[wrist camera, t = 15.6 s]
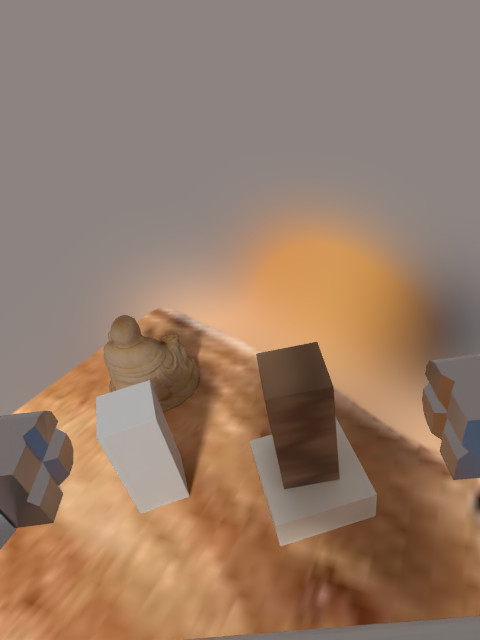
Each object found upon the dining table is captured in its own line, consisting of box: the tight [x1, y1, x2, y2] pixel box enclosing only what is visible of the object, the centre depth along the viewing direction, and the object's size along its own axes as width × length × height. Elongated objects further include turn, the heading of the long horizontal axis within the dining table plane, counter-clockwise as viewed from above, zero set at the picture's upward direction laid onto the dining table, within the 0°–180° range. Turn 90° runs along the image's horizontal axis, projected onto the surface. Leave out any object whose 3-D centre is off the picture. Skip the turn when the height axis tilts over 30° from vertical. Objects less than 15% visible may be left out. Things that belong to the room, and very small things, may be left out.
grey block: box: [96, 380, 189, 514], centre depth 41 cm, size 5×5×12 cm
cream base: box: [250, 417, 377, 546], centre depth 41 cm, size 9×9×4 cm
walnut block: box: [256, 342, 340, 489], centre depth 37 cm, size 5×5×12 cm
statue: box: [104, 315, 200, 412], centre depth 53 cm, size 12×14×10 cm
